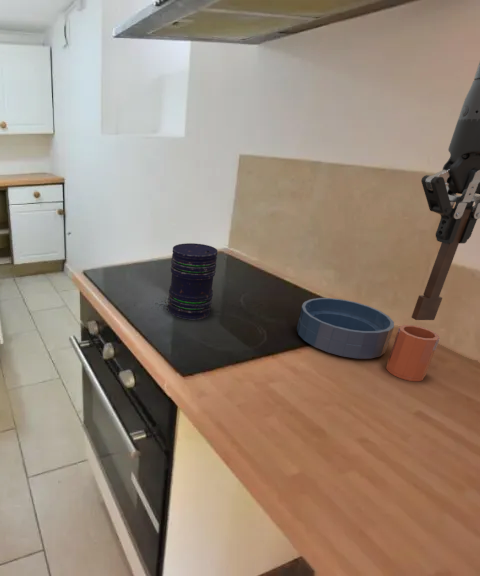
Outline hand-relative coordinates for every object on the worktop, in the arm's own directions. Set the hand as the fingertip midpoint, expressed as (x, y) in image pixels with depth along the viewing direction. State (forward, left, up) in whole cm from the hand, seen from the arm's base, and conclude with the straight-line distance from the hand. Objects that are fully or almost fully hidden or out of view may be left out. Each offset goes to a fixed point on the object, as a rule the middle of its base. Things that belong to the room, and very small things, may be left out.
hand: (450, 241), depth 57 cm
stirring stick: (0, 0, -13) cm, 13 cm away
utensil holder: (0, 0, -23) cm, 23 cm away
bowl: (+5, -11, -23) cm, 26 cm away
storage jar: (+32, -25, -24) cm, 47 cm away
